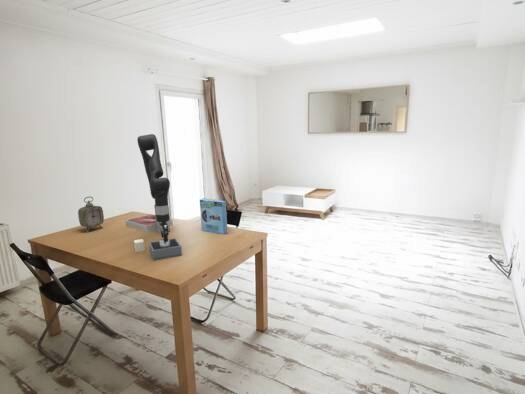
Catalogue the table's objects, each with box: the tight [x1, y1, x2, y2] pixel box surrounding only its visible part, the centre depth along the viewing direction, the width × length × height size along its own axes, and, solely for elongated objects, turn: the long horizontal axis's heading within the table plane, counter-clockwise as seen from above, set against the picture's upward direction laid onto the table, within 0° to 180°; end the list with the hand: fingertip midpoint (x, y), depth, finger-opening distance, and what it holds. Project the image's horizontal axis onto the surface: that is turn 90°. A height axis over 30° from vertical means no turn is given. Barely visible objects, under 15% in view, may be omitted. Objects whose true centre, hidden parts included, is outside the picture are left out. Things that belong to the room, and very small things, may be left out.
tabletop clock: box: [77, 196, 105, 233], centre depth 233 cm, size 14×9×25 cm, turn 150°
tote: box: [148, 237, 183, 261], centre depth 187 cm, size 16×16×6 cm
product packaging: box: [125, 213, 174, 233], centre depth 244 cm, size 22×28×5 cm
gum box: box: [199, 197, 228, 235], centre depth 225 cm, size 20×5×23 cm, turn 60°
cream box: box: [133, 238, 145, 253], centre depth 194 cm, size 6×5×6 cm
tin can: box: [158, 238, 170, 249], centre depth 187 cm, size 6×6×7 cm
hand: (164, 239), depth 186 cm, fingers open, 8 cm apart
